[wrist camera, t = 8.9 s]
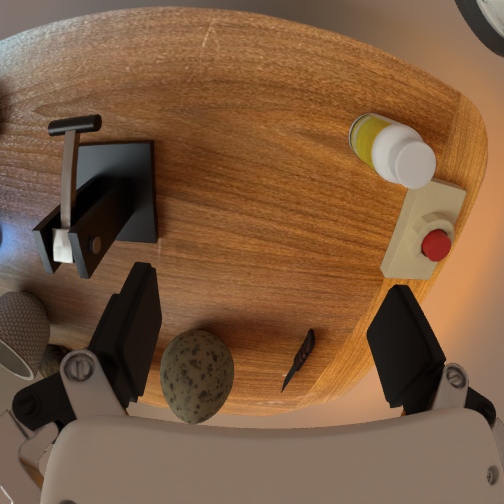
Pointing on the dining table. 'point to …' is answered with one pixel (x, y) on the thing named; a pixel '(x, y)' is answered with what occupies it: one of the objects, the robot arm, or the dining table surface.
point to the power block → (421, 228)
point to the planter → (22, 333)
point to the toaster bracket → (106, 204)
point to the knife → (301, 356)
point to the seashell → (52, 360)
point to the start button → (436, 245)
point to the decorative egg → (196, 375)
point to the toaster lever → (69, 178)
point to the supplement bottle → (392, 150)
